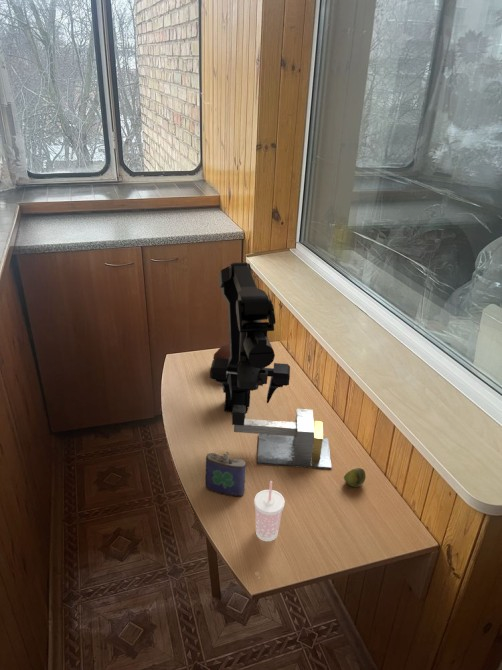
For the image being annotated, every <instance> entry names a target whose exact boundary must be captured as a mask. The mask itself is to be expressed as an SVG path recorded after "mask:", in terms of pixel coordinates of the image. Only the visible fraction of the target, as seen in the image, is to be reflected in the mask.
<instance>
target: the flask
mask: <svg viewBox="0 0 502 670" xmlns="http://www.w3.org/2000/svg"><path fill="white" fill-rule="evenodd" d="M230 455H231V454H230V452H228V451H226V452H225V453H222V455H220V454H217V453H216V452H210V453H207V454H206V457H205V479H204V480H205V481H204V482H205V489H206V490H208V491H209V492H212V493H214V494H217V495H224V496H229V497H235V498H237V497H238V498H239V497H240V498H241V497H242V496H244V495H245V489H246V488H245V486H246V485H245V483H246V466H247V465H246V462H245V460H243V459H237V458H231V457H229V456H230Z"/></svg>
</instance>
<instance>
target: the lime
mask: <svg viewBox="0 0 502 670" xmlns="http://www.w3.org/2000/svg"><path fill="white" fill-rule="evenodd" d="M366 476H367V475H366V472H365V469H364V468H361V467H357V468H354V469H351V470H349V471H348V472H346V473H345V475H344V476H343V479H344V482H345V483H346V484H347V485H349V486H350V487H353V488H357V487H360V486H362V485H363V484H364V483H365V480H366Z"/></svg>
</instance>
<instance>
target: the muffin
mask: <svg viewBox="0 0 502 670" xmlns="http://www.w3.org/2000/svg"><path fill="white" fill-rule="evenodd" d="M229 357H230V343H227V344H225V345H222V346H221V347H220V348H218V349H217V351H216V352H215V353H213V359H212V360H214V359H215V358H221V359H229Z"/></svg>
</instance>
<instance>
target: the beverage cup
mask: <svg viewBox="0 0 502 670" xmlns="http://www.w3.org/2000/svg"><path fill="white" fill-rule="evenodd" d="M253 501H254V502H253V505H254V507H255V533H256V536H257V538H258V539H260V540H261V541H263V542H272V541H274V540H275V539H277V537H278V534H279V530H280V526H281V520H282V519H281V518H282V513H283V510H284V507H285V504H286V501H285V497H284V496H283V495H282V493H281V492H279V491H277V490H274V489H273V480H269V489H263V490H261V491H259V492H258V493H256V494H255V497H254V499H253Z"/></svg>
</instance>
